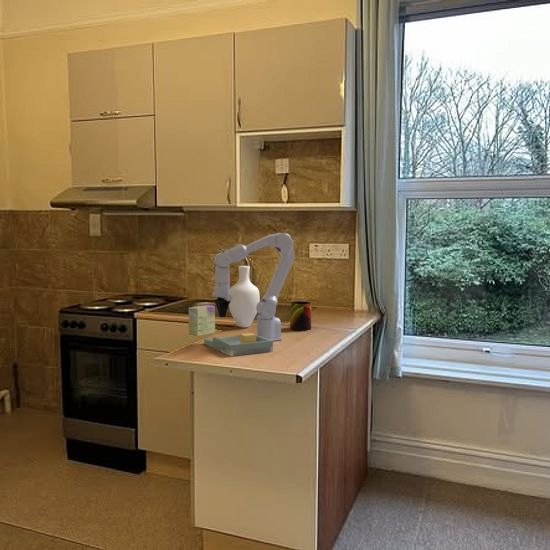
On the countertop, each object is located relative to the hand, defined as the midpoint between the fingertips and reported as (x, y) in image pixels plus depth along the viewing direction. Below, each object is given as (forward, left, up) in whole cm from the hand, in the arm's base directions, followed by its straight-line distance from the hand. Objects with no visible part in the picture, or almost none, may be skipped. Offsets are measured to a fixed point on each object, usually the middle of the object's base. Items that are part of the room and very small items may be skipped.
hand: (222, 317), depth 221 cm
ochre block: (-1, +21, -8) cm, 23 cm away
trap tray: (0, +13, -10) cm, 16 cm away
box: (+1, -19, -10) cm, 22 cm away
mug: (-43, -11, -10) cm, 46 cm away
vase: (-22, -25, -10) cm, 35 cm away
